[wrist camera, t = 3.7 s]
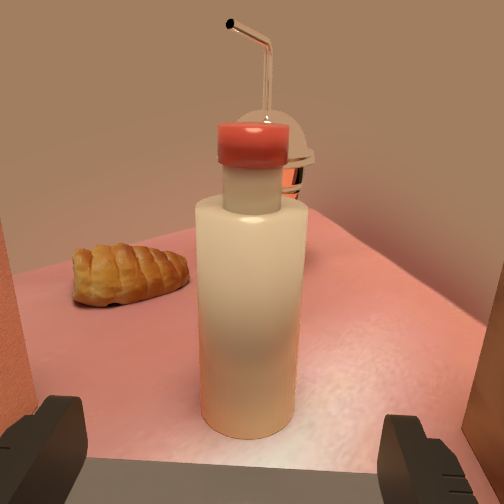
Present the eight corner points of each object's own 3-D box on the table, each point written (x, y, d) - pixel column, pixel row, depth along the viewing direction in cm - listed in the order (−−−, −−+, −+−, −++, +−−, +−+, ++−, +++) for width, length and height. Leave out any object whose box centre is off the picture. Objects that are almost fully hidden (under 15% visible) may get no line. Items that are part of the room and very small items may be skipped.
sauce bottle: (181, 402, 24) (168, 123, 18) (248, 363, 27) (254, 117, 22) (245, 456, 20) (252, 136, 15) (312, 405, 24) (338, 127, 18)
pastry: (179, 265, 41) (178, 227, 40) (199, 298, 35) (198, 254, 34) (72, 280, 38) (66, 238, 36) (74, 318, 32) (67, 270, 31)
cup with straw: (326, 271, 40) (349, 25, 33) (238, 291, 36) (241, 15, 28) (276, 241, 47) (285, 33, 39) (197, 256, 43) (191, 25, 35)
